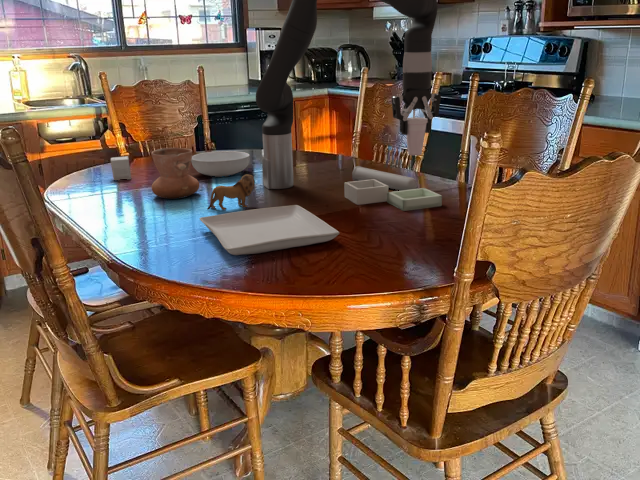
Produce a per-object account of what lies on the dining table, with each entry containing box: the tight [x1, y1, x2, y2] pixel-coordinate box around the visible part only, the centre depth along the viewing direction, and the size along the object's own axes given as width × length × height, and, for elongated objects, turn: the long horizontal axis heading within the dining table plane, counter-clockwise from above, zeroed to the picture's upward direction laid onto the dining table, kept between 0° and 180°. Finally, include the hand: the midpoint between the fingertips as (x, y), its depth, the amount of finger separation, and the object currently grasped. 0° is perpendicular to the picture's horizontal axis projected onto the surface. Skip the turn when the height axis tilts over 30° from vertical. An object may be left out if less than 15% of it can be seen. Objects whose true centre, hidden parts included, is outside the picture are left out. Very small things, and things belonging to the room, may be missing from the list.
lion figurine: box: [206, 174, 255, 211], centre depth 168 cm, size 15×5×9 cm, turn 119°
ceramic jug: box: [151, 147, 200, 200], centre depth 183 cm, size 18×14×14 cm
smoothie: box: [405, 110, 428, 156], centre depth 161 cm, size 6×6×14 cm
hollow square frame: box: [344, 179, 389, 206], centre depth 174 cm, size 10×10×4 cm
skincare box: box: [110, 155, 132, 181], centre depth 210 cm, size 6×6×7 cm
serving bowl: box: [191, 150, 251, 178], centre depth 212 cm, size 21×21×7 cm
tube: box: [351, 165, 419, 191], centre depth 188 cm, size 5×5×25 cm
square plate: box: [199, 204, 340, 256], centre depth 144 cm, size 27×27×4 cm
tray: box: [386, 187, 443, 212], centre depth 168 cm, size 12×10×3 cm
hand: (415, 133), depth 162 cm, fingers closed on smoothie, 6 cm apart
